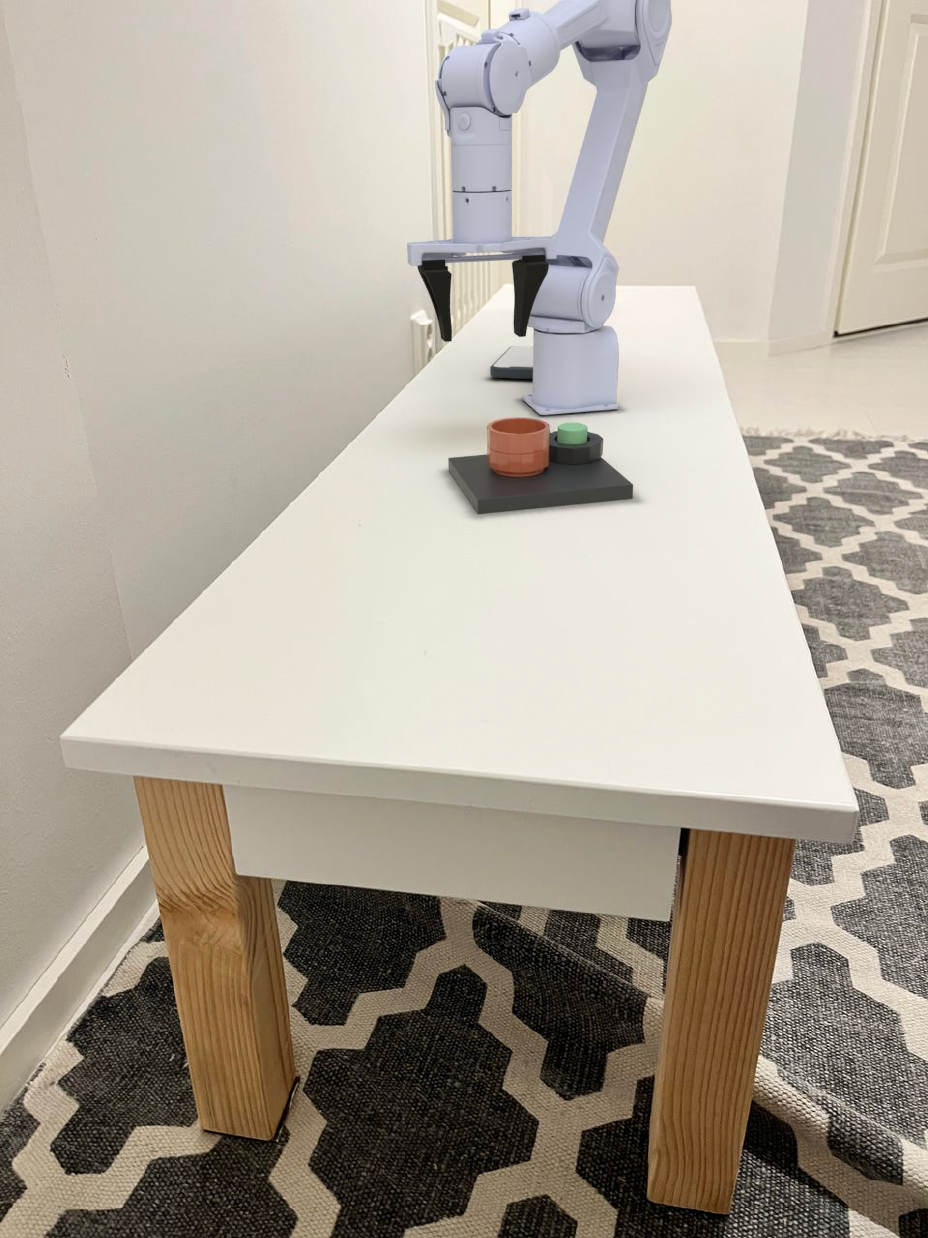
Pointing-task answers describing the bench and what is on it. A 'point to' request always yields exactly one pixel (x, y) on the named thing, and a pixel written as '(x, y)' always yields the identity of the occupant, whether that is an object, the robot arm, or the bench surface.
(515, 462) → the bowl
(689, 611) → the bench surface
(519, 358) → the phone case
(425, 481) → the bench surface
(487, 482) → the scale
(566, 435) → the button
